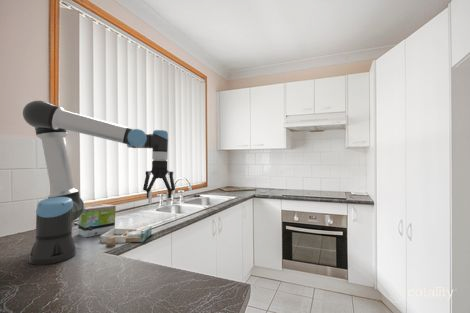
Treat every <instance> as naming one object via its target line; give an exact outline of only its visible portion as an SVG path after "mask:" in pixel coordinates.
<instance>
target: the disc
mask: <svg viewBox="0 0 470 313" xmlns="http://www.w3.org/2000/svg"><path fill="white" fill-rule="evenodd" d="M140 231H141V230H136V231H132V232H128V233H127V237H138V238H139V237H141V234H142V232H140Z"/></svg>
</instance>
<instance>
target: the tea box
mask: <svg viewBox="0 0 470 313" xmlns="http://www.w3.org/2000/svg"><path fill="white" fill-rule="evenodd" d="M116 206H117V205H114V204H109V203H101V204H94V205H93V204H92V205H84V210H83V212H82V214H81V215H80V216H79V217H78V221H77V224H78V225H77V226H78V227H77V235H79V236H81V237H83V238H90V237H93V236H98V235H99V236H101V235H103V234H105V233H106V232H108V231H110V230H112V229H113V228H116V227H115V226H116V208H117V207H116Z"/></svg>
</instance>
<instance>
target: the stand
mask: <svg viewBox="0 0 470 313" xmlns="http://www.w3.org/2000/svg"><path fill="white" fill-rule="evenodd" d="M105 243H106V245H105V246H106V247H107V248H112V247H115V246H116V243H115V237H108V238H107V241H106V242H105Z"/></svg>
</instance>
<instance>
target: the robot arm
mask: <svg viewBox="0 0 470 313" xmlns="http://www.w3.org/2000/svg"><path fill="white" fill-rule="evenodd" d="M22 117H23V119H24V121H25V122H26V123H27V124H28V125H29V126H31V127H33V128H34V130H35V136H36V137H37V138H38V139H40V140H41V142H42V143H41V145H42V149H43V154H44V160H45V166H46V170H47V175H48V180H49V186H50V194H49V195H47V198H43V199H42V200H40V201H38V203H37V205H36V210H35V214H36V215H35V217H36V218H35V241H34V244H33V246H32V248H31V251H30V253H29V256H28V263H29V264H30V265H38V266H39V265H41V266H43V265H51V264H56V263H60V262H63V261H66V260H69V259H71V258H73V257H74V256H76V253H77V246H76V244H75V241H74V238H73V236H72V231H73V229H72V228H73V222H74V221H76V220H77V219H79V216H80V215H81V214H82V212H83V210H84V206H85V203H84V201H83V199H82V197H81V195H80V191H79V189H76V188H75V186H74V180H73V174H72V170H71V169H72V168H71V163H70V158H69V153H68V147H67V141H66V137H67V135H69V131H71V132H75V133H79V134H83V135H86V136H87V135H88V136H90V137H91V136H92V137H95V138H99V139H104V140H108V141H112V142H116V143H120V144H124V145H126V146H127V148H131V149H152V154H151V156H152V158H151V159H152V161H151V170H146V171H145V179H144V183H143V187H142V191H144V192H146V199H148V206H150V205H152V203H153V202H152V201H153V191H152V188H153V186H154V184H155V182H156V180H157V179H161V180H163V183H164V185H165V187H166V190H167V192H166V193H165V194H166V198H165V199H166V200H165V201H166V202H165V203H166V206H168V205H170V199H171V198H172V192H173V191H175V190H176V188H175V187H176V186H175V181H174V180H175V179H174V171H171V170H168V161H167V160H168V156H169V155H168V153H169V152H168V151H169V150H168V149H169V147H168V146H169V133H168V131H167V130H164V129H153V131H152V133H146V132H145V131H143V130H142V129H140V128H132V127H128V126H124V125H121V124H119V123H118V124H117V123H114V122H109V121H106V120H102V119H99V118H94V117H90V116H87V115H83V114H80V113H76V112H72V111H68V110H65V109H64V108H63V107H61V106H58V105H55V104H52V103H50V102H47V101H45V100H33V101H31V102H28V103H26V104H25V106H24V107H23V109H22ZM151 175H152V178H151V181H150V177H151ZM167 175H168V176H169V181H168V178H167ZM149 181H150V182H149ZM169 182H170V183H169Z"/></svg>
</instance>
